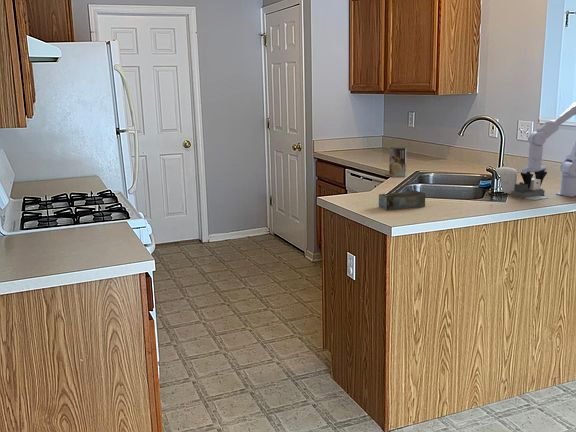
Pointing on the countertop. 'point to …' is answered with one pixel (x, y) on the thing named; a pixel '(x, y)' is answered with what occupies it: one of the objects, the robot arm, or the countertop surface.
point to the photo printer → (507, 178)
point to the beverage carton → (401, 200)
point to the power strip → (528, 194)
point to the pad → (536, 197)
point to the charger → (535, 184)
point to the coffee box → (397, 162)
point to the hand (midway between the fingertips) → (532, 187)
